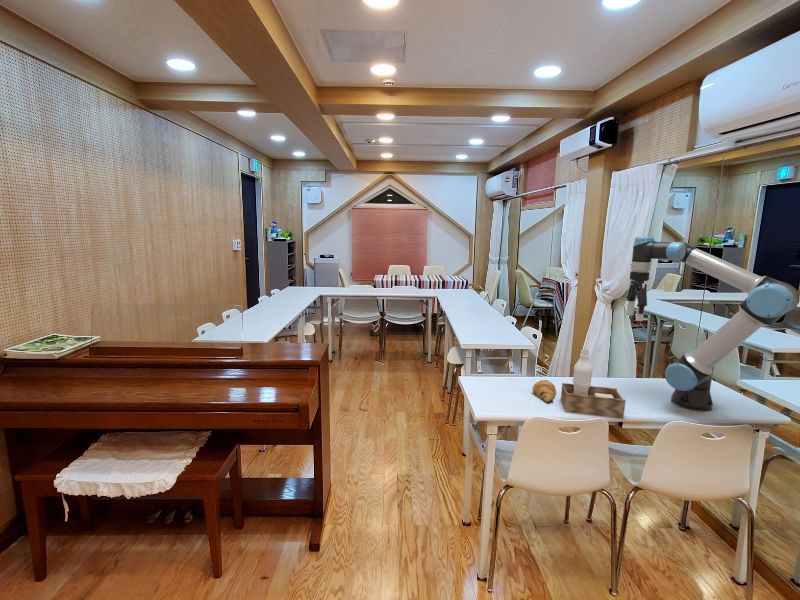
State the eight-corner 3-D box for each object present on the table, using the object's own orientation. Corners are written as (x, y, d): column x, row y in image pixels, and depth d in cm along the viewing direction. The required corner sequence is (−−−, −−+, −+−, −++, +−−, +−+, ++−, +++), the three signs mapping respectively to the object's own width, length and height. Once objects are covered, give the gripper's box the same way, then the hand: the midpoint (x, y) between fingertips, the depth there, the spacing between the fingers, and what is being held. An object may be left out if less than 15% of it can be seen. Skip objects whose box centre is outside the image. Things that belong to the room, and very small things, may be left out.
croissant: (554, 412, 180) (565, 397, 178) (534, 400, 180) (544, 385, 179) (545, 392, 201) (554, 379, 199) (527, 382, 201) (536, 369, 199)
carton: (610, 406, 177) (611, 394, 176) (616, 416, 167) (618, 403, 166) (593, 404, 178) (594, 392, 177) (598, 414, 169) (599, 401, 168)
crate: (614, 407, 178) (616, 388, 176) (623, 420, 165) (625, 400, 164) (560, 401, 183) (562, 382, 181) (564, 413, 170) (566, 394, 169)
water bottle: (589, 406, 176) (595, 349, 172) (587, 412, 170) (593, 354, 166) (571, 402, 180) (577, 347, 175) (568, 408, 174) (574, 351, 169)
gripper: (622, 268, 197) (617, 312, 200) (639, 273, 173) (633, 322, 176) (640, 269, 195) (634, 313, 199) (659, 274, 171) (653, 324, 175)
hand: (634, 317), depth 187 cm, fingers open, 13 cm apart
